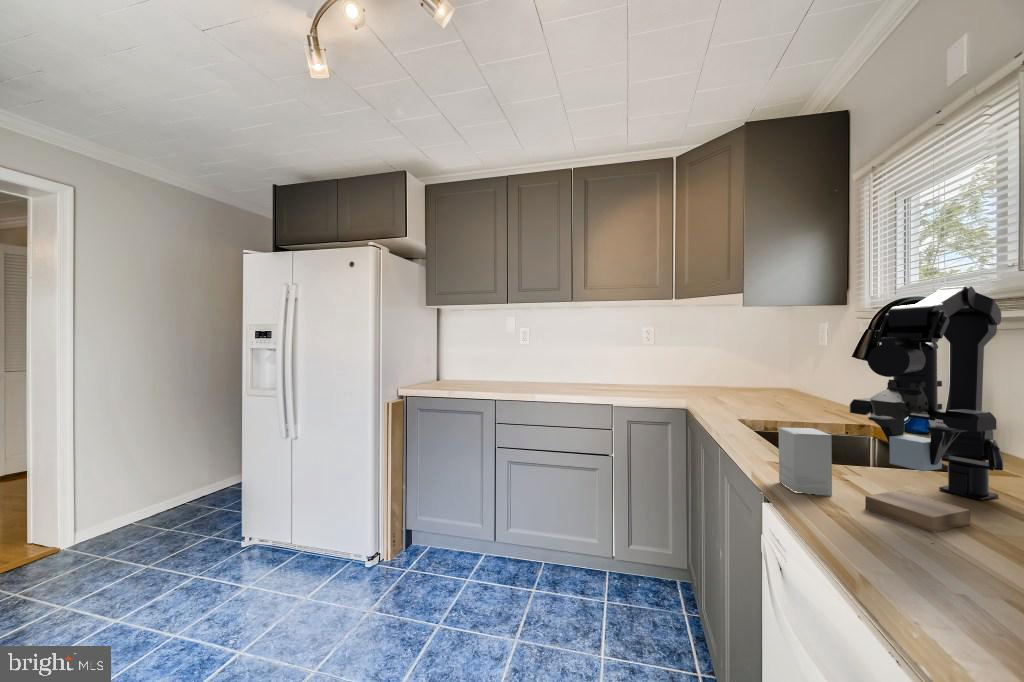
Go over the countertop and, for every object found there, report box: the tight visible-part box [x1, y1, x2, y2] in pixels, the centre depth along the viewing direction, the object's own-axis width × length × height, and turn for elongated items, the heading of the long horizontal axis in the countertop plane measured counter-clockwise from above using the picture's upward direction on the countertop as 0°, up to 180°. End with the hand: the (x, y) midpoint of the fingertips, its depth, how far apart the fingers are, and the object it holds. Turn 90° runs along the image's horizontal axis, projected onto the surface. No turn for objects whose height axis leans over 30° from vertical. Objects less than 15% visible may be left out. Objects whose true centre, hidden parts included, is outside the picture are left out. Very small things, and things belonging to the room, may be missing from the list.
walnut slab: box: [864, 489, 971, 533], centre depth 75 cm, size 10×10×2 cm
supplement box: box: [778, 427, 833, 497], centre depth 89 cm, size 7×7×13 cm
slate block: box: [889, 434, 943, 472], centre depth 75 cm, size 5×5×5 cm
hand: (915, 460), depth 75 cm, fingers closed on slate block, 5 cm apart
